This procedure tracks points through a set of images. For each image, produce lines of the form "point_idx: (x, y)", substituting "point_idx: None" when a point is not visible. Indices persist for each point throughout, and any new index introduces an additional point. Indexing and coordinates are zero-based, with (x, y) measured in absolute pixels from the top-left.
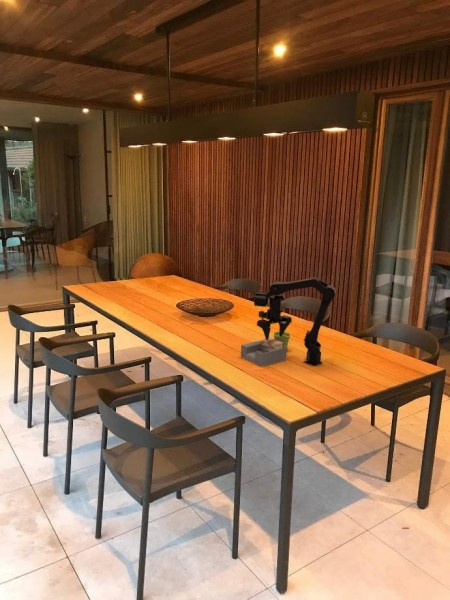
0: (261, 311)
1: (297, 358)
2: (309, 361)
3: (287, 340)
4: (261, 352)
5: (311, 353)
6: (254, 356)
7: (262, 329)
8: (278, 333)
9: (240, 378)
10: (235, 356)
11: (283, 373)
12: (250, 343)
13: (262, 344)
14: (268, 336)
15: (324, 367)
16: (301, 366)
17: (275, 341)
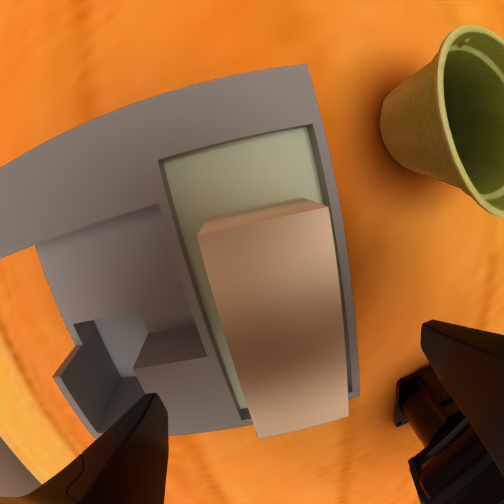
0: None
1: (409, 322)
2: (404, 409)
3: (491, 189)
4: (159, 257)
5: (424, 445)
6: (75, 321)
7: (28, 495)
8: (489, 47)
9: (19, 422)
10: (21, 154)
11: (202, 462)
12: (55, 161)
13: (170, 237)
14: (159, 469)
15: (414, 433)
16: (342, 423)
17: (296, 378)
